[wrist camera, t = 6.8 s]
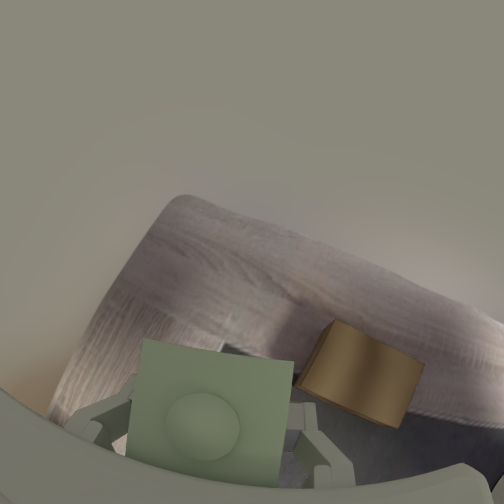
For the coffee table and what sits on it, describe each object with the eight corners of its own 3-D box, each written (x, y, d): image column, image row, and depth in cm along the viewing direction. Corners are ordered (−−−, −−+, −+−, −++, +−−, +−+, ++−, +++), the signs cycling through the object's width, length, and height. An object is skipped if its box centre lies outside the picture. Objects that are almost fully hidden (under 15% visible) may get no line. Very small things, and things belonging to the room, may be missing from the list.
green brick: (275, 373, 15) (296, 359, 8) (264, 451, 13) (274, 506, 6) (192, 361, 16) (138, 334, 8) (180, 437, 13) (117, 472, 6)
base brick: (402, 369, 27) (425, 364, 22) (377, 424, 24) (398, 428, 19) (323, 329, 29) (335, 318, 25) (292, 386, 26) (300, 385, 22)
